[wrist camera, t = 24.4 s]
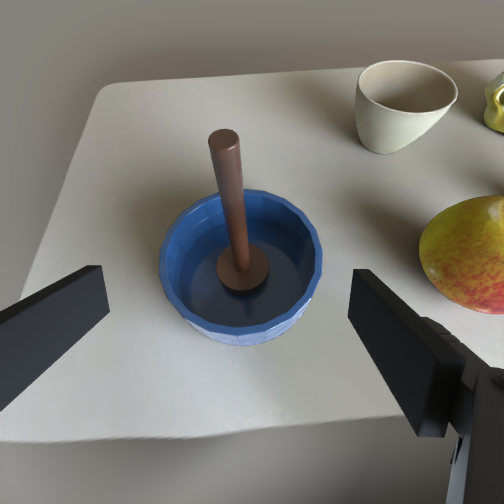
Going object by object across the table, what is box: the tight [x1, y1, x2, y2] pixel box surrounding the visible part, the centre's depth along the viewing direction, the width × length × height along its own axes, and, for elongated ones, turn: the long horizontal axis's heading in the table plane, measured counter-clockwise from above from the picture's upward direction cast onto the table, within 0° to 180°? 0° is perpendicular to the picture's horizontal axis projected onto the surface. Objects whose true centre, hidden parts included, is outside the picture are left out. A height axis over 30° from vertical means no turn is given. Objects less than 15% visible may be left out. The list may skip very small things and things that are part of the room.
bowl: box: [159, 189, 323, 346], centre depth 23 cm, size 13×13×5 cm
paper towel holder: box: [208, 129, 269, 296], centre depth 18 cm, size 5×5×15 cm
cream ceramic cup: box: [355, 60, 458, 154], centre depth 31 cm, size 10×10×7 cm
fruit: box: [419, 195, 504, 314], centre depth 21 cm, size 10×9×8 cm
